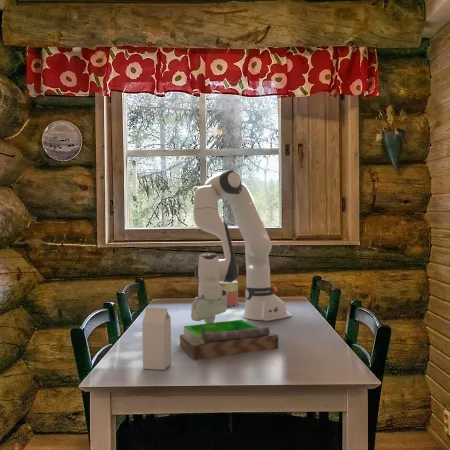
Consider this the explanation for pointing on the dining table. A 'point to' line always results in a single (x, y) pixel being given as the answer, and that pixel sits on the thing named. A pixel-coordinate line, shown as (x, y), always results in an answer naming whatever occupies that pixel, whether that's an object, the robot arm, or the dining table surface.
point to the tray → (214, 329)
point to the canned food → (230, 292)
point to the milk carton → (156, 338)
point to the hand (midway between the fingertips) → (209, 327)
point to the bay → (230, 342)
